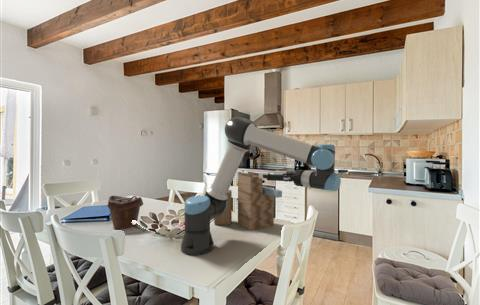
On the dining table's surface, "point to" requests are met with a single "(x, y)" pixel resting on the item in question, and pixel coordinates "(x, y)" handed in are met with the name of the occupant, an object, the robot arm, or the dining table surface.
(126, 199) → the brown pot
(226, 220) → the wooden block
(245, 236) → the dining table surface
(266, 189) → the slate rail
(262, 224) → the walnut stand
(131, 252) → the dining table surface
